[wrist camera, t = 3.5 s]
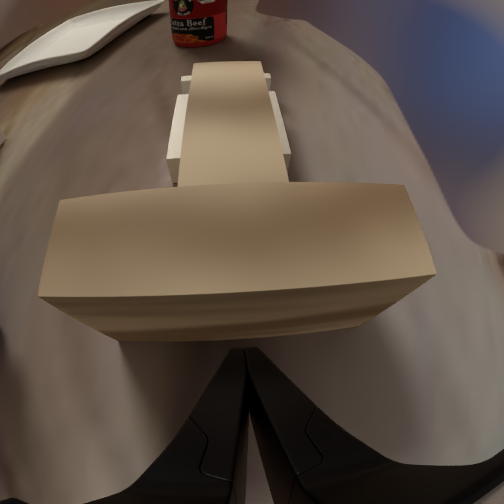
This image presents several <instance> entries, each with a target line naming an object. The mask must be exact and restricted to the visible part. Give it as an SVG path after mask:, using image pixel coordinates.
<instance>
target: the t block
mask: <svg viewBox="0 0 504 504" xmlns="http://www.w3.org/2000/svg"><path fill="white" fill-rule="evenodd" d="M436 274H437V273H436V270H435V267H434V264H433V260H432V257H431V254H430V251H429V248H428V245H427V242H426V239H425V236H424V234H423V231H422V228H421V225H420V223H419V220H418V218H417V215H416V212H415V210H414V207H413V205H412V202H411V200H410V198H409V195H408V193H407V191H406V188H405V186H404V185H394V184H375V183H345V182H289V179H288V175H287V170H286V165H285V160H284V156H283V151H282V147H281V142H280V138H279V133H278V129H277V125H276V120H275V116H274V112H273V108H272V104H271V100H270V96H269V92H268V88H267V84H266V80H265V76H264V72H263V68H262V64H261V61H228V62H206V63H194V65H193V71H192V77H191V83H190V89H189V95H188V102H187V108H186V115H185V123H184V130H183V138H182V147H181V156H180V165H179V175H178V186H177V187H169V188H157V189H146V190H136V191H126V192H117V193H109V194H101V195H93V196H86V197H78V198H72V199H65V200H60V202H59V205H58V209H57V212H56V216H55V219H54V223H53V226H52V230H51V234H50V238H49V242H48V246H47V250H46V255H45V259H44V264H43V269H42V274H41V280H40V285H39V292H38V297H40V298H41V299H43V300H44V301H46V302H48V303H49V304H51V305H53V306H54V307H56V308H58V309H59V310H61V311H63V312H64V313H66V314H68V315H70V316H71V317H73V318H75V319H77V320H79V321H80V322H82V323H84V324H86V325H88V326H90V327H91V328H93V329H95V330H97V331H99V332H101V333H103V334H105V335H107V336H109V337H111V338H113V339H115V340H117V341H139V342H176V341H212V340H232V339H248V338H262V337H274V336H285V335H295V334H304V333H313V332H322V331H330V330H337V329H344V328H351V327H358V326H360V325H361V324H363V323H365V322H366V321H368V320H370V319H371V318H373V317H374V316H376V315H378V314H379V313H381V312H382V311H384V310H385V309H387V308H389V307H390V306H392V305H393V304H395V303H396V302H398V301H399V300H401V299H402V298H404V297H405V296H406V295H408V294H409V293H411V292H412V291H414V290H415V289H417V288H418V287H419V286H421V285H422V284H424V283H425V282H426V281H428V280H429V279H430V278H432V277H433V276H435V275H436Z"/></svg>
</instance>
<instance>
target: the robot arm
mask: <svg viewBox="0 0 504 504" xmlns="http://www.w3.org/2000/svg"><path fill="white" fill-rule="evenodd" d="M249 413H250V418H251V422H252V426H253V430H254V433H255V437H256V441H257V445H258V448H259V452H260V456H261V459H262V463H263V467H264V470H265V474H266V477H267V481H268V484H269V488H270V491H271V495H272V498H273V501H274V504H504V449H503V450H502V451H500V452H499V453H498V454H496V455H495V456H493V457H492V458H490V459H488V460H486V461H484V462H481V463H477V464H473V465H461V466H433V465H412V464H403V463H399V462H396V461H393V460H391V459H388V458H386V457H385V456H383V455H381V454H380V453H378V452H377V451H375V450H374V449H372V448H370V447H369V446H367V445H366V444H364V443H363V442H361V441H360V440H358V439H357V438H355V437H354V436H352V435H351V434H350V433H348V432H347V431H345V430H344V429H343V428H341V427H340V426H339V425H337V424H336V423H335V422H334V421H333V420H332V419H330V418H329V417H328V416H327V415H326V414H325V413H324V412H323V411H322V410H321V409H320V408H318V407H317V406H316V405H315V404H314V403H313V402H312V401H311V400H310V399H309V398H308V397H307V396H306V395H305V394H304V393H303V392H302V391H301V390H300V389H299V388H298V387H297V386H296V385H295V384H294V383H293V382H292V381H291V380H290V379H289V378H288V377H287V376H286V375H285V374H284V373H283V372H282V371H281V370H280V369H279V368H278V367H277V366H276V365H275V364H274V363H273V362H272V361H271V360H270V359H269V358H268V357H267V356H266V355H265V354H264V353H263V352H262V351H261V350H260V349H259V348H258V347H245V348H244V349H243V348H231V349H230V350H229V351H228V353H227V355H226V356H225V358H224V360H223V361H222V363H221V365H220V366H219V368H218V370H217V371H216V373H215V374H214V376H213V378H212V379H211V381H210V383H209V384H208V386H207V388H206V389H205V391H204V392H203V394H202V396H201V397H200V399H199V401H198V402H197V404H196V405H195V407H194V409H193V410H192V412H191V413H190V415H189V418H187V420H186V421H185V423H184V424H183V426H182V427H181V429H180V430H179V432H178V433H177V435H176V436H175V438H174V439H173V440H172V441H171V443H170V444H169V445H168V446H167V447H166V449H165V450H164V451H163V452H162V453H161V454H160V456H159V457H158V458H157V459H156V460H155V461H154V462H153V463H152V464H151V465H150V467H149V468H148V469H147V470H146V471H145V472H144V473H143V474H142V475H141V476H140V477H139V478H138V479H137V480H136V481H135V482H134V483H133V484H132V485H131V486H129V487H128V488H126V489H125V490H123V491H121V492H119V493H117V494H114V495H111V496H108V497H104V498H101V499H98V500H95V501H91V502H88V503H84V504H245V494H246V472H247V451H248V428H249ZM0 504H28V503H26V502H24V501H21V500H19V499H16V498H8V499H5V500H1V501H0Z"/></svg>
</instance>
